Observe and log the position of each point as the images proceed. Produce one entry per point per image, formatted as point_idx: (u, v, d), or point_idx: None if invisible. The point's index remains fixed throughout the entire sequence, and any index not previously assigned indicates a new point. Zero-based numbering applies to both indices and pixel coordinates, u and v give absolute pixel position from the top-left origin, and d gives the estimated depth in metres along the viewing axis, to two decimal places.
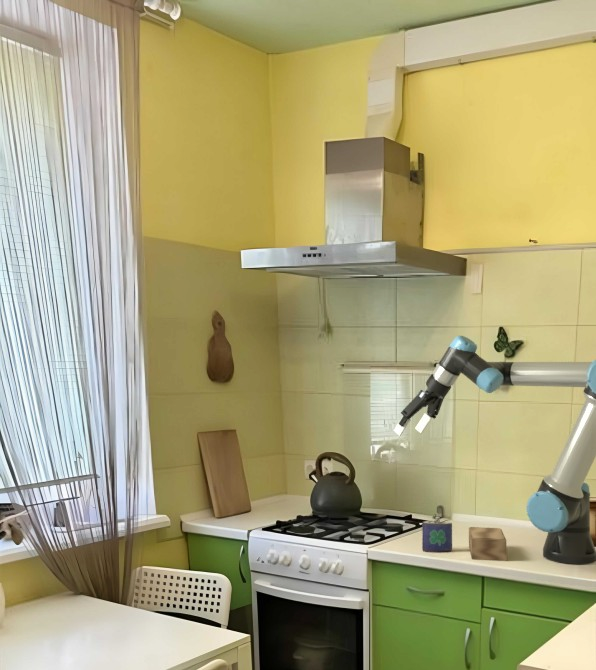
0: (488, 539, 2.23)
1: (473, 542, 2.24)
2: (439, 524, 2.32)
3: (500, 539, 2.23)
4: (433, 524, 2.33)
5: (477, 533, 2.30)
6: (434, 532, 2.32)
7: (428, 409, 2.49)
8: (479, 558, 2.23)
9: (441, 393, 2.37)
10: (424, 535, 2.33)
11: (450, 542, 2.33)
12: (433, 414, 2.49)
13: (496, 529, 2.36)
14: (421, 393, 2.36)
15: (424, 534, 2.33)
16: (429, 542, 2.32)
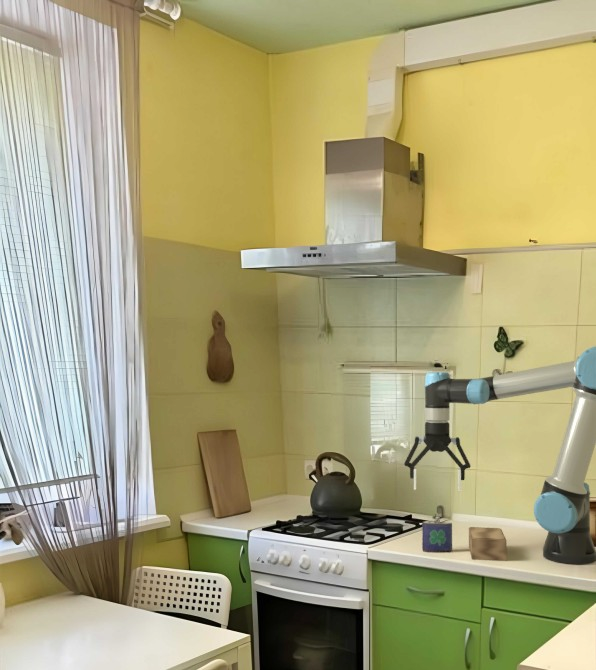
0: (488, 539, 2.23)
1: (473, 542, 2.24)
2: (439, 524, 2.32)
3: (500, 539, 2.23)
4: (433, 524, 2.33)
5: (477, 533, 2.30)
6: (434, 532, 2.32)
7: None
8: (479, 558, 2.23)
9: (431, 431, 2.32)
10: (424, 535, 2.33)
11: (450, 542, 2.33)
12: (460, 465, 2.32)
13: (496, 529, 2.36)
14: None
15: (424, 534, 2.33)
16: (429, 542, 2.32)
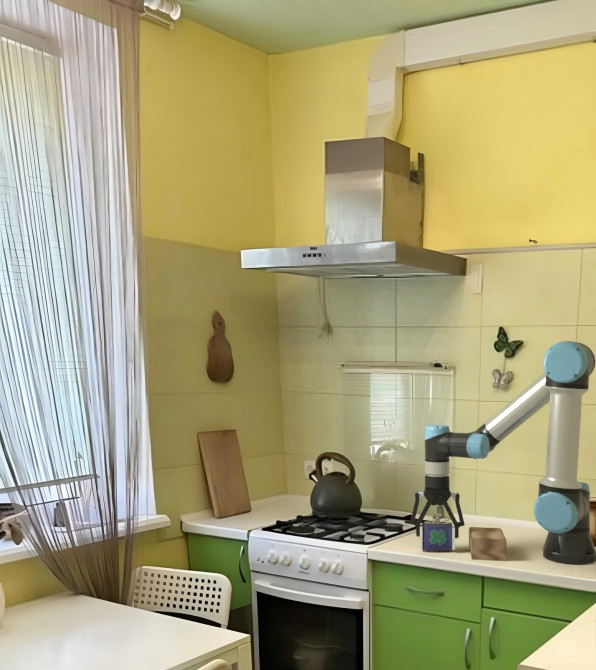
0: (488, 539, 2.23)
1: (473, 542, 2.24)
2: (439, 524, 2.32)
3: (500, 539, 2.23)
4: (433, 524, 2.33)
5: (477, 533, 2.30)
6: (434, 532, 2.32)
7: None
8: (479, 558, 2.23)
9: (430, 485, 2.31)
10: (424, 535, 2.33)
11: (450, 542, 2.33)
12: (454, 523, 2.32)
13: (496, 529, 2.36)
14: None
15: (424, 534, 2.33)
16: (429, 542, 2.32)
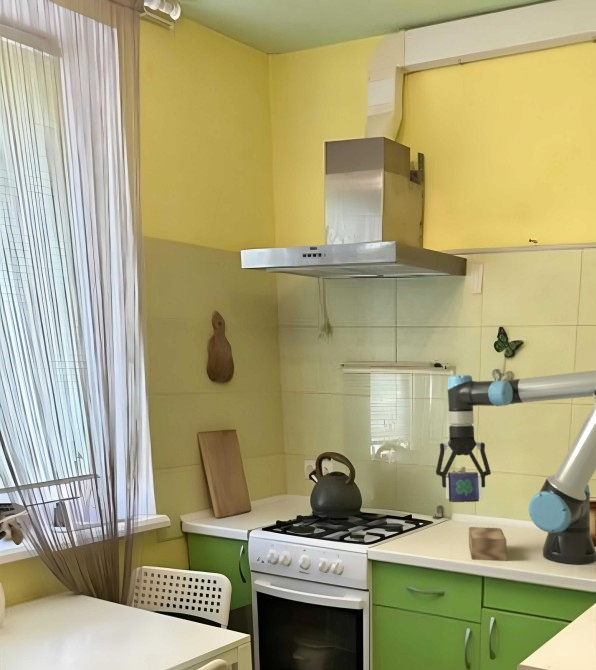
0: (488, 539, 2.23)
1: (473, 542, 2.24)
2: (465, 474, 2.31)
3: (500, 539, 2.23)
4: (459, 474, 2.32)
5: (477, 533, 2.30)
6: (461, 482, 2.31)
7: None
8: (479, 558, 2.23)
9: (456, 435, 2.31)
10: (450, 485, 2.32)
11: (477, 491, 2.32)
12: (481, 472, 2.31)
13: (496, 529, 2.36)
14: None
15: (450, 485, 2.32)
16: (456, 492, 2.31)
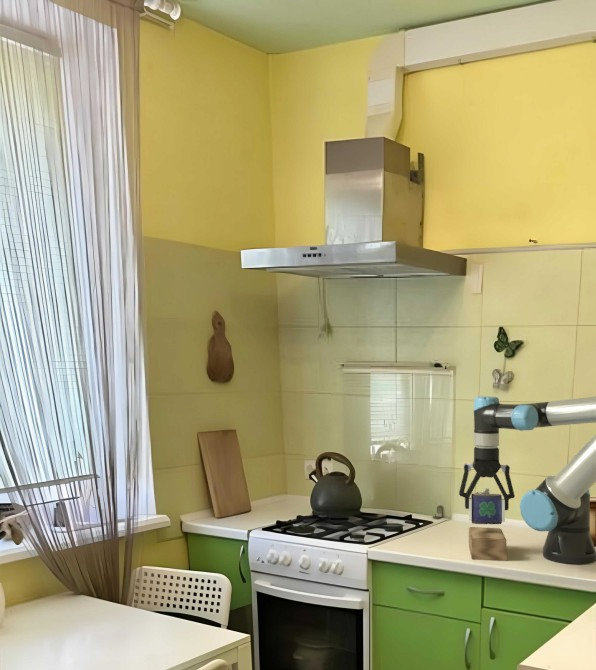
0: (488, 539, 2.23)
1: (473, 542, 2.24)
2: (489, 496, 2.30)
3: (500, 539, 2.23)
4: (483, 496, 2.30)
5: (477, 533, 2.30)
6: (484, 504, 2.30)
7: None
8: (479, 558, 2.23)
9: (480, 457, 2.29)
10: (473, 507, 2.31)
11: (500, 514, 2.31)
12: (504, 495, 2.30)
13: (496, 529, 2.36)
14: None
15: (473, 506, 2.31)
16: (479, 514, 2.30)
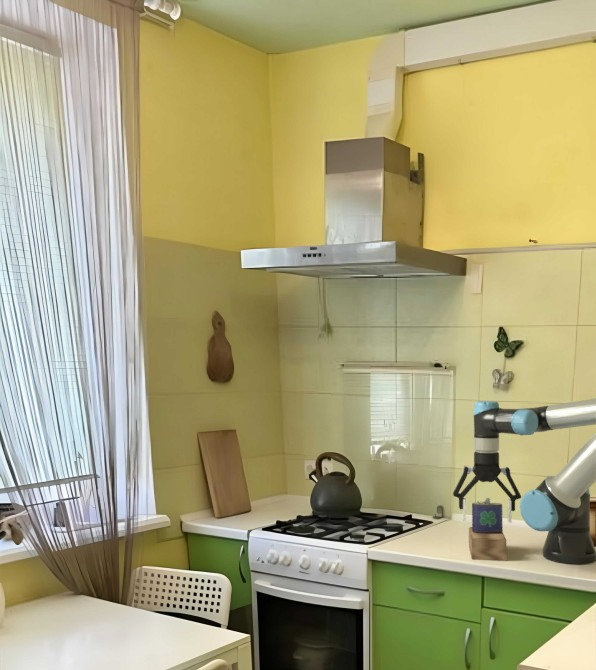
0: (488, 539, 2.23)
1: (473, 542, 2.24)
2: (489, 505, 2.30)
3: (500, 539, 2.23)
4: (483, 505, 2.30)
5: (477, 533, 2.30)
6: (485, 513, 2.30)
7: None
8: (479, 558, 2.23)
9: (480, 462, 2.29)
10: (474, 516, 2.31)
11: (500, 523, 2.30)
12: (510, 496, 2.29)
13: None
14: None
15: (474, 515, 2.31)
16: (480, 523, 2.30)
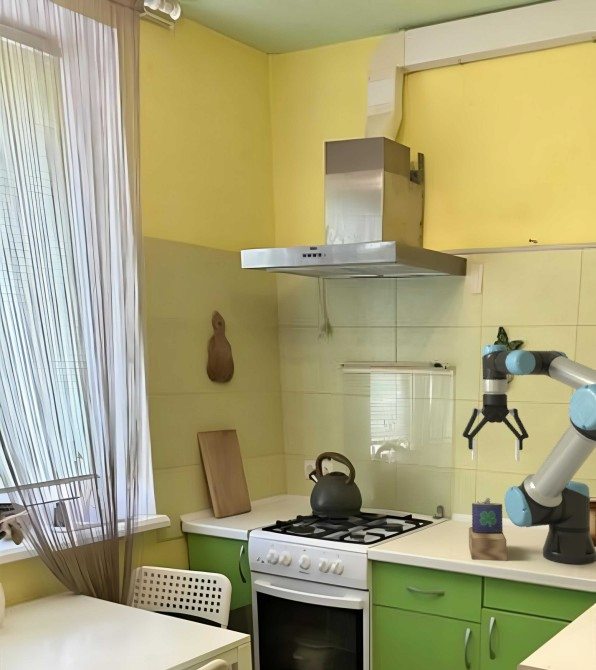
0: (488, 539, 2.23)
1: (473, 542, 2.24)
2: (489, 505, 2.30)
3: (500, 539, 2.23)
4: (483, 505, 2.30)
5: (477, 533, 2.30)
6: (485, 513, 2.30)
7: (513, 433, 2.39)
8: (479, 558, 2.23)
9: (490, 402, 2.37)
10: (474, 516, 2.31)
11: (500, 523, 2.30)
12: (518, 436, 2.37)
13: None
14: (473, 410, 2.40)
15: (474, 515, 2.31)
16: (480, 523, 2.30)
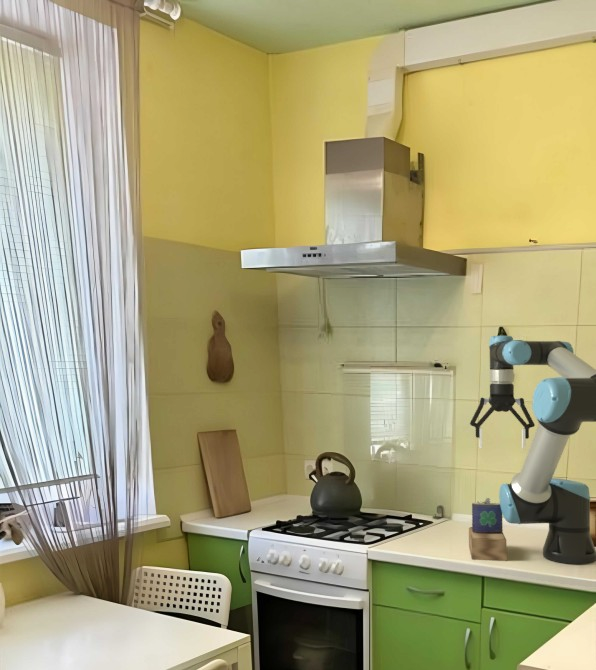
0: (488, 539, 2.23)
1: (473, 542, 2.24)
2: (489, 505, 2.30)
3: (500, 539, 2.23)
4: (483, 505, 2.30)
5: (477, 533, 2.30)
6: (485, 513, 2.30)
7: (520, 422, 2.45)
8: (479, 558, 2.23)
9: (496, 392, 2.43)
10: (474, 516, 2.31)
11: (500, 523, 2.30)
12: (524, 424, 2.43)
13: None
14: (480, 399, 2.47)
15: (474, 515, 2.31)
16: (480, 523, 2.30)
